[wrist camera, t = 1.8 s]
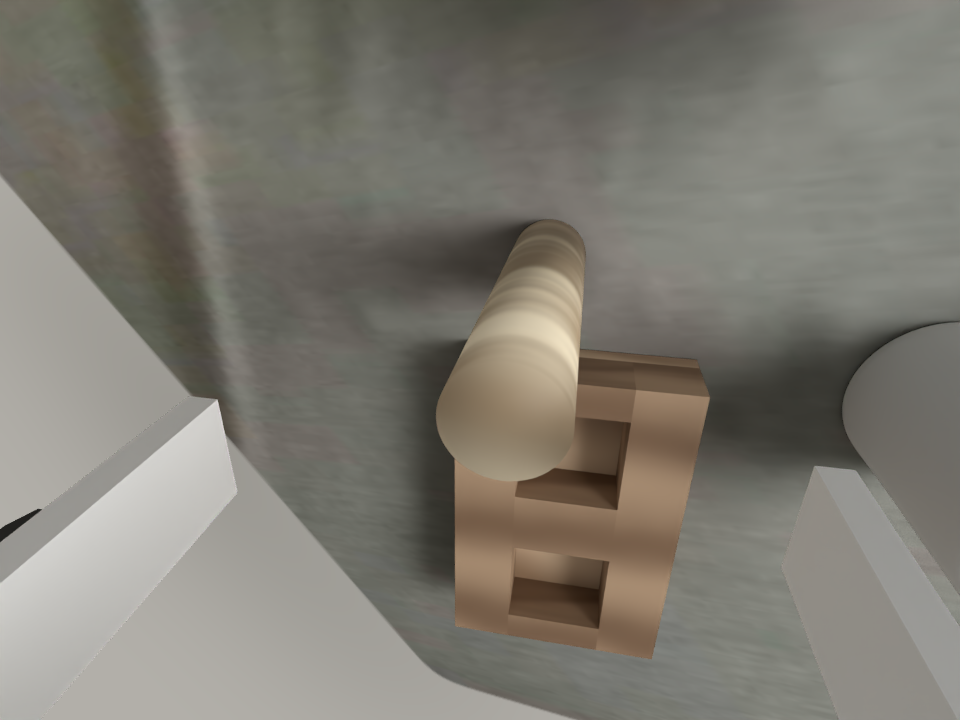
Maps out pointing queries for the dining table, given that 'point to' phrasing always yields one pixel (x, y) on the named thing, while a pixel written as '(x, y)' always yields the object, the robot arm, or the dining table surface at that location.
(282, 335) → the dining table surface
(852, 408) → the mug
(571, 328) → the pin
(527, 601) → the bore block
